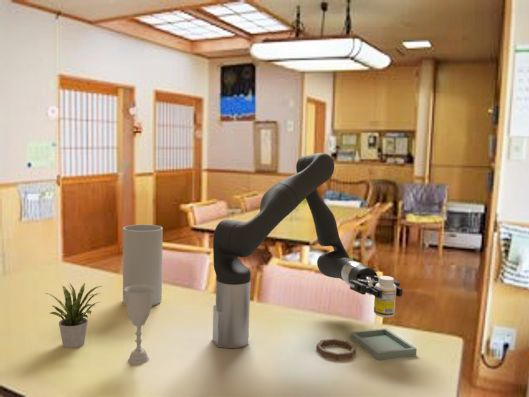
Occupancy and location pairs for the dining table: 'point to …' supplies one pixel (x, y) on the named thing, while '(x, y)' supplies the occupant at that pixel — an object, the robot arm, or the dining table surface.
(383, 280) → the supplement bottle
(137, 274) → the cylinder vase
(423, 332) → the dining table surface
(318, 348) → the holder ring
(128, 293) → the chalice
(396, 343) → the tray
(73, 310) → the house plant
